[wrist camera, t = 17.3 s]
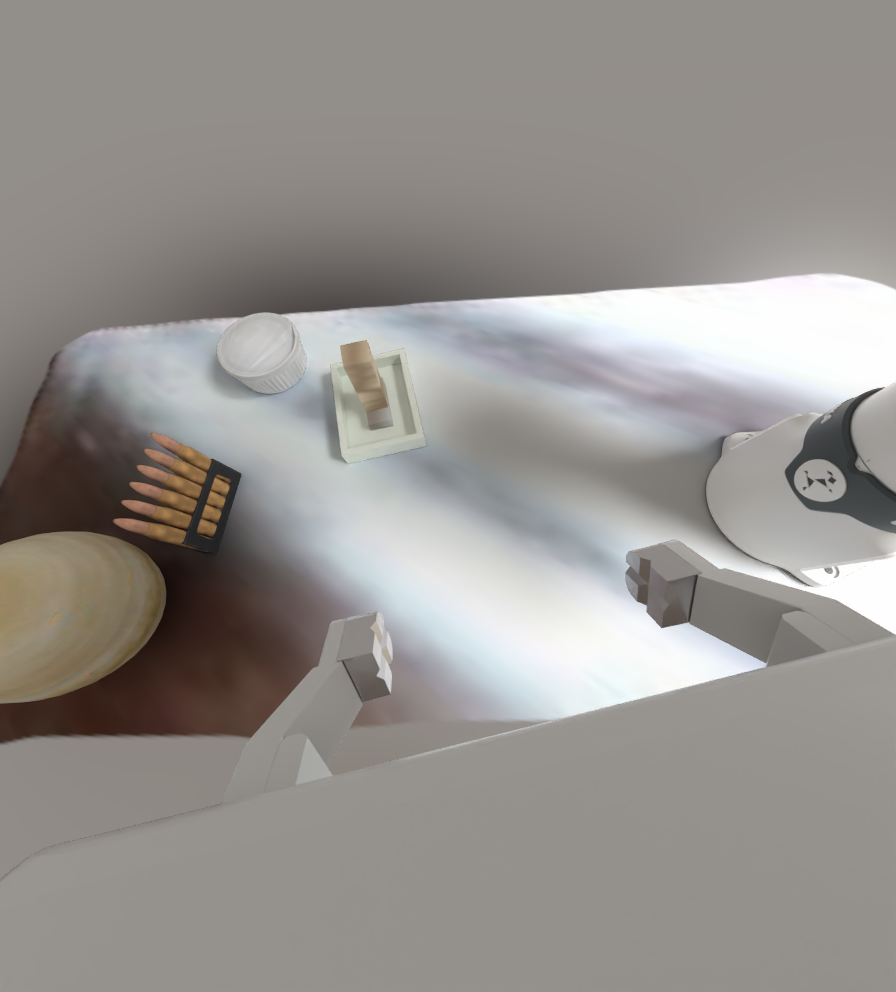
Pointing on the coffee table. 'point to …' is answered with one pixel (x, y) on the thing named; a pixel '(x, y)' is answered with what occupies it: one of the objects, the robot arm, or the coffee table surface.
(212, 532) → the ammunition clip
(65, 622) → the decorative ball
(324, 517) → the coffee table surface
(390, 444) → the tray
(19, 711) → the coffee table surface
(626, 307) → the coffee table surface
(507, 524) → the coffee table surface
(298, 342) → the ramekin
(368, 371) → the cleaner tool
